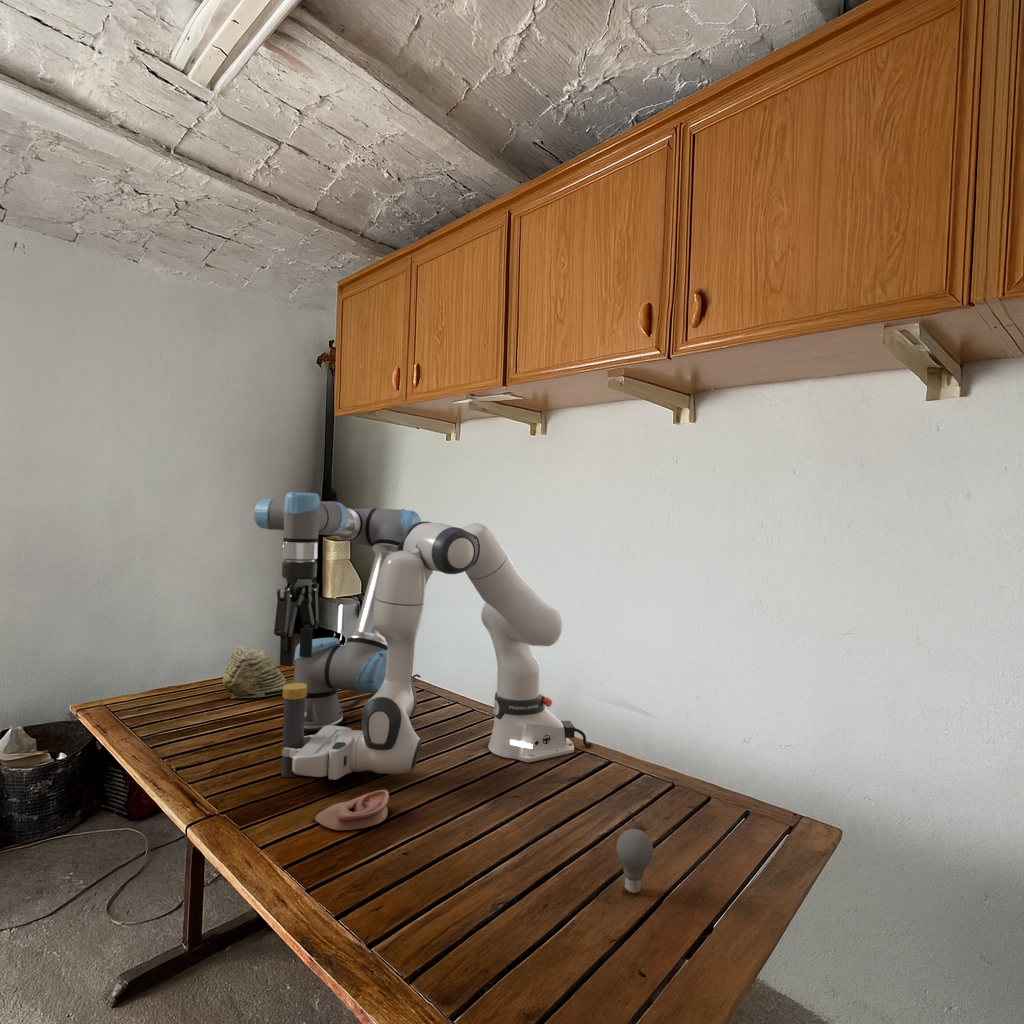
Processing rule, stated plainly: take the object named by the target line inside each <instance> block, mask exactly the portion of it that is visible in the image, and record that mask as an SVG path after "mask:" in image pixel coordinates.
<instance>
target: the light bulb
mask: <svg viewBox="0 0 1024 1024" xmlns="http://www.w3.org/2000/svg"><path fill="white" fill-rule="evenodd" d="M615 849H616V854H617V857H618V859H619V861H620V863H621V865H622V867H623V873H624V874H623V875H624V876H625V878H624V888H625V890H627V891H628V892H630V893H634V894H635V893H639V892H640V891H641V889H642V887H641V886H642V879H643V877H644V875H645V871H646V868H647V867H648V866H649V864H650V863H651V861H652V859H653V855H654V847H653V843H652V841H651V838H649V836H648V835H647V834H646V833H645V832H643V831H642V830H641V829H636V828H629V829H627V830H625V831H623V832H622V833H621V834H620V835H619V837H618V839H617V841H616V847H615Z"/></svg>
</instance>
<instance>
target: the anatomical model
mask: <svg viewBox="0 0 1024 1024" xmlns="http://www.w3.org/2000/svg"><path fill="white" fill-rule="evenodd" d="M389 799H390V793H389V791H388V790H387V789H380V790H375V791H372V792H368V793H366V794H363V795H361V796H358V797H355V798H353V799H351V800H348V801H344V802H338V803H336V804H332V805H330V806H328V807H327V808H325V809H323V810H321V811H320V812H318V814H317V815H315V817H314V819H315V820H314V821H315V822H317V823H318V824H319V825H322V826H323V827H325V828H327V829H331V830H333V831H350V830H351V831H353V830H360V829H365V828H368V827H373V826H375V825H379V824H381V823H382V822H384V821H385V820H386V819H387V816H388V813H389V812H388V811H389V809H388V807H387V805H388V803H389Z"/></svg>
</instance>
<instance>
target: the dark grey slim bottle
mask: <svg viewBox="0 0 1024 1024" xmlns="http://www.w3.org/2000/svg"><path fill="white" fill-rule="evenodd" d="M282 717H283V720H282V721H283V722H282V723H283V725H282V747H281V751H282V750H283V749H284V748H285V747H286V746H293V748H294V749H298V748H301V749H302V748H303V747H304V745H303V743H304V736H305V732H304V717H305V698H302V699H297V700H289V699H285V698H283V716H282ZM292 762H293V759H292V758H291V757H285V756H283V755H282V754H281V772H280V774H281V776H282V777H284V778H289V779H291V778H292V779H293V778H296V777H299V776H300V775H298V774H296V773H294V772H293V771H292Z"/></svg>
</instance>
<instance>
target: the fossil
mask: <svg viewBox="0 0 1024 1024" xmlns="http://www.w3.org/2000/svg"><path fill="white" fill-rule="evenodd" d="M222 676H223V677H222V685H223V687H224V688H225V690H226V691H228V693H229V698H230V699H250V698H264V697H271V696H275V695H281V694H283V686H284V685H286V684H287V680H286V678H285V676H284V674H283V673H282V672H281V669H279V668H278V667H277V665H276V663H275V662H274V660H273V659H272V658H271V657H270V656H269V655H268V654H267V653H266V652H265V650H264V649H263V648H260V647H258V648H251V647H247V646H246V647H245V646H238V647H237V648H236V649H235V650H233V651H232V653H231V656H230V657H229V659H228V660H227V663H226V666H225V668H224V671H223V675H222Z"/></svg>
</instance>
